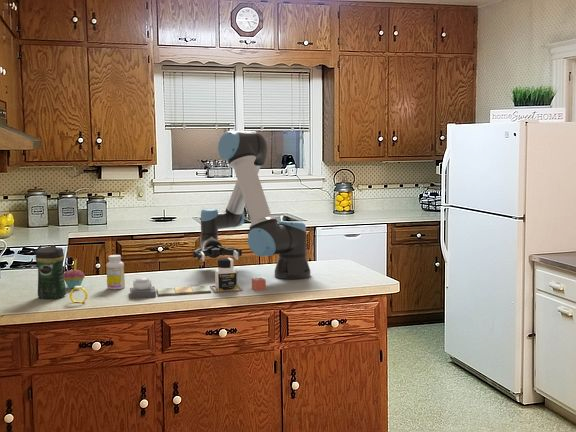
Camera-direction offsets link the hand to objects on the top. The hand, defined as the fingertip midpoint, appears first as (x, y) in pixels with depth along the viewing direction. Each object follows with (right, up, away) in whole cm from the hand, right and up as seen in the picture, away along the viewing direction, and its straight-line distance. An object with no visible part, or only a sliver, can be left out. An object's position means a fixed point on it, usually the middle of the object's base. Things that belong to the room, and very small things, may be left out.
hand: (220, 257), depth 266 cm
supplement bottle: (-40, -12, -6) cm, 42 cm away
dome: (-27, -10, -19) cm, 34 cm away
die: (+16, -12, -10) cm, 22 cm away
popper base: (-27, -13, -18) cm, 35 cm away
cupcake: (-57, -12, -5) cm, 59 cm away
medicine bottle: (+3, -12, -9) cm, 15 cm away
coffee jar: (-60, -14, -20) cm, 65 cm away
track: (-13, -12, -13) cm, 22 cm away
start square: (+3, -12, -9) cm, 15 cm away
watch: (-48, -15, -29) cm, 58 cm away
